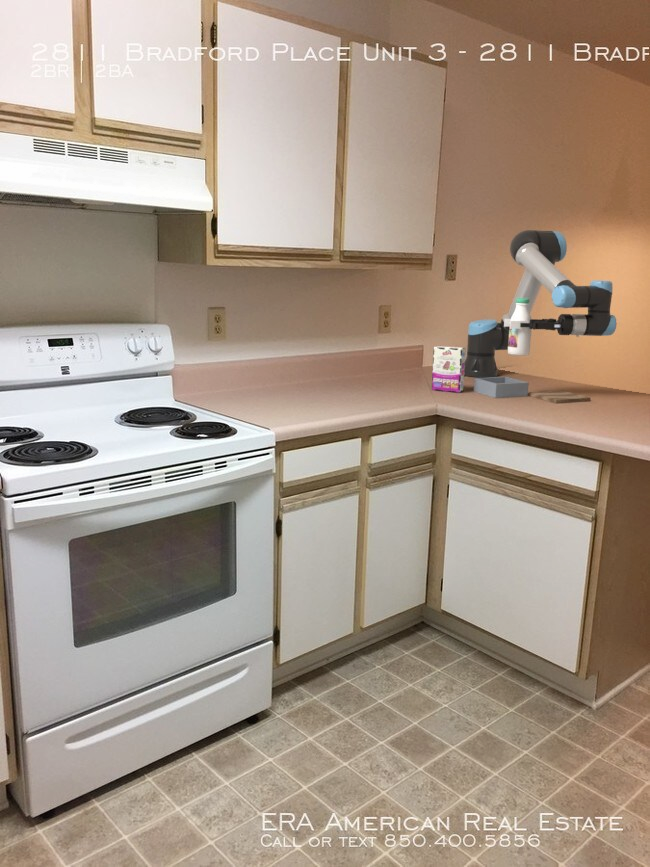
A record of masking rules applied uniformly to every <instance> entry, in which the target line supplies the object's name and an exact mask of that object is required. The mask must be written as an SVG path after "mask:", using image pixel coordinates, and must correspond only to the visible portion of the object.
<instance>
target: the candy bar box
mask: <svg viewBox="0 0 650 867" xmlns="http://www.w3.org/2000/svg"><path fill="white" fill-rule="evenodd" d="M432 351H433V353H432V354H433V355H432V373H431V374H432V375H431V376H432V377H431V378H432V379H431V390H432V391H439V392H449V393H458V394H459V393H462V392H464V386H465V385H464V384H465V383H464V382H465V375H464V368H465V360H466V352H467V348H466V347H459V346H458V347H457V346H441V345H437V346H434V347H433V350H432Z"/></svg>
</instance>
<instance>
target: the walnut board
mask: <svg viewBox="0 0 650 867" xmlns="http://www.w3.org/2000/svg"><path fill="white" fill-rule="evenodd" d="M528 396H529V397H531V398H535V399H539V400H542V401H547V402H550V403H553V404H566V403H581V402H583V403H584V402H591V397H589V396H585V395H581V394H578V393H574V392H569V391H565V390H550V391H549V390H547V391H533V392H529V391H528Z"/></svg>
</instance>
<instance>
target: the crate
mask: <svg viewBox="0 0 650 867" xmlns="http://www.w3.org/2000/svg"><path fill="white" fill-rule="evenodd" d="M473 380H474V381H473V392H475V393H479V394H481V395H484V396H486V397H487V396H488V397H490V398H494V399H499V398H500V399H501V398H502V399H503V398H516V397H519V398H520V397H528V396H529V384H530V383H529V382H527V381H525V380H520V379H516V378H512V377H508V376H496V377H474V379H473Z"/></svg>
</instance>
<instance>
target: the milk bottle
mask: <svg viewBox="0 0 650 867" xmlns="http://www.w3.org/2000/svg"><path fill="white" fill-rule="evenodd" d="M528 305H529V299H527V298H517V299H516V309H515V311H514V313H513V315H512V317H511V320H510V321H529V323H530V319H532V316H531V313H529V310H528ZM531 337H532V329H510V327H509V340H508V350H507V354H508V355H512V356H529V355H530V352H531V343H532V342H531Z"/></svg>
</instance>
